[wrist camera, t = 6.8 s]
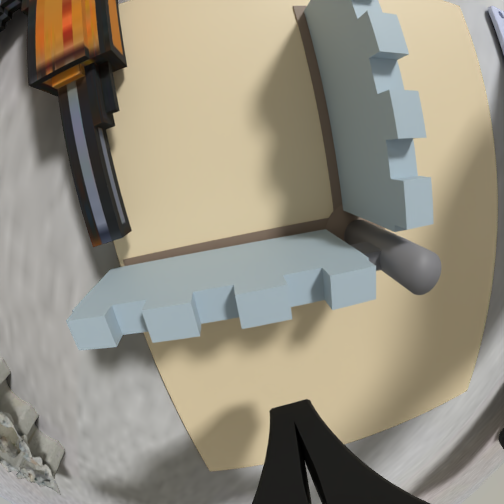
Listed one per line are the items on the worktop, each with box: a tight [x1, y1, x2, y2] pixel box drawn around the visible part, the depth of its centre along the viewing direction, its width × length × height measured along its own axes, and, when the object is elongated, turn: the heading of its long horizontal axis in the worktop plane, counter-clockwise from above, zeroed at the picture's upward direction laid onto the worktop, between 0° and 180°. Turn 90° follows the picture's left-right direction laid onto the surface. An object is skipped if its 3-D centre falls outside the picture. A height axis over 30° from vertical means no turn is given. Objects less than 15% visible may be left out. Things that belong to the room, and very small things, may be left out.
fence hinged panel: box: [66, 219, 441, 350], centre depth 9 cm, size 10×1×4 cm, turn 99°
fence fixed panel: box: [304, 0, 434, 232], centre depth 8 cm, size 8×1×4 cm, turn 10°
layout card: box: [106, 0, 498, 472], centre depth 12 cm, size 18×24×1 cm
